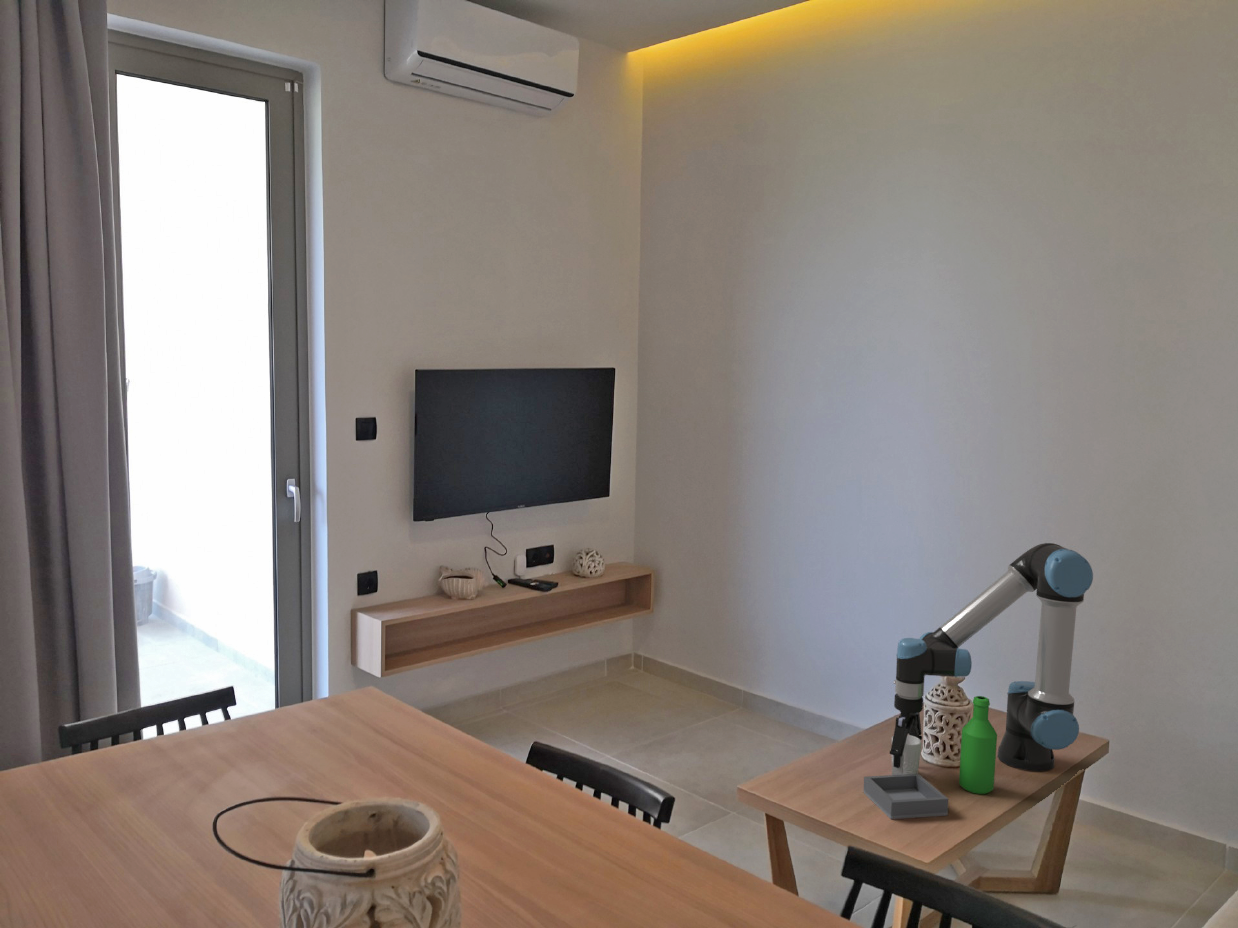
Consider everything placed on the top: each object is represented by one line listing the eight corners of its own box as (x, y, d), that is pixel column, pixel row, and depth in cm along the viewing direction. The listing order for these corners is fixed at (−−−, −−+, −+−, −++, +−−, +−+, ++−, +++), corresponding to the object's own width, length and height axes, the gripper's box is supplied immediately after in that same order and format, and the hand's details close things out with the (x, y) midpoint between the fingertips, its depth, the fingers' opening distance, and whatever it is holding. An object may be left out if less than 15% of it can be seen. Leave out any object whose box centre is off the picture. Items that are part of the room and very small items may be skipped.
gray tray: (917, 788, 252) (917, 773, 252) (947, 815, 237) (948, 798, 237) (863, 792, 250) (864, 776, 249) (890, 819, 234) (891, 802, 234)
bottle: (960, 778, 260) (966, 690, 258) (994, 785, 256) (1000, 695, 254) (957, 790, 252) (962, 699, 250) (991, 798, 248) (997, 705, 246)
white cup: (921, 781, 257) (923, 746, 256) (891, 778, 259) (892, 743, 258) (917, 770, 265) (919, 735, 264) (888, 767, 266) (890, 732, 266)
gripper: (909, 681, 272) (905, 752, 274) (880, 704, 252) (876, 781, 253) (935, 686, 268) (931, 758, 270) (908, 710, 247) (904, 788, 249)
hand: (904, 769), depth 262 cm, fingers open, 13 cm apart
